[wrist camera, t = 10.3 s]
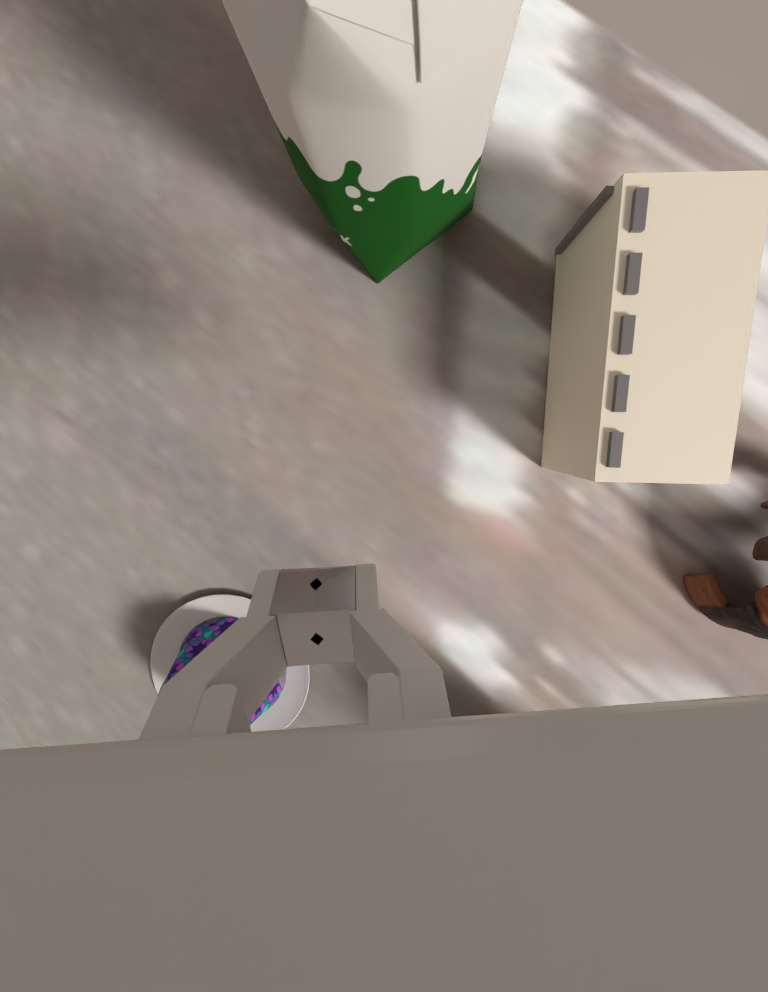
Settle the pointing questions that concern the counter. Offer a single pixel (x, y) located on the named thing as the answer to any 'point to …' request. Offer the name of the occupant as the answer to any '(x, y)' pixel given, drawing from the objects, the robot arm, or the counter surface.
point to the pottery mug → (753, 618)
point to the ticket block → (654, 328)
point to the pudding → (190, 616)
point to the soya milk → (381, 108)
